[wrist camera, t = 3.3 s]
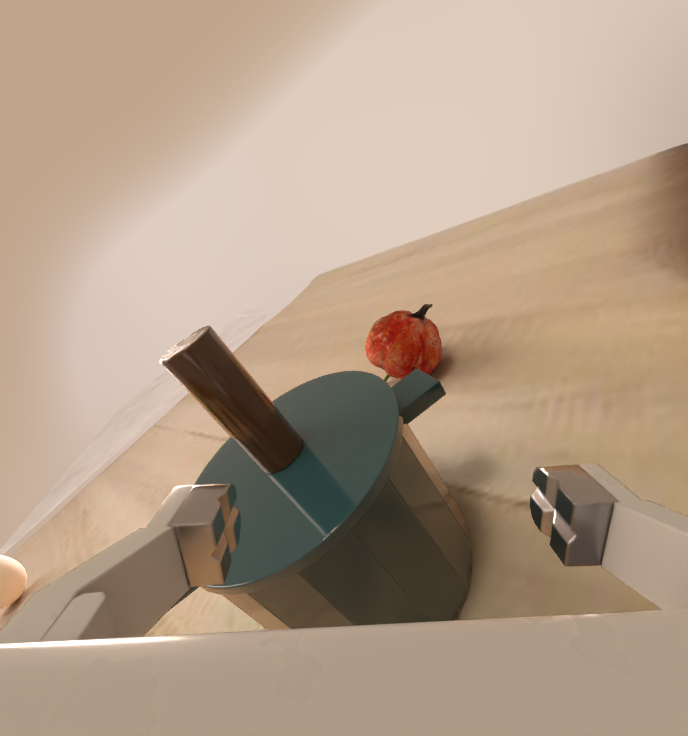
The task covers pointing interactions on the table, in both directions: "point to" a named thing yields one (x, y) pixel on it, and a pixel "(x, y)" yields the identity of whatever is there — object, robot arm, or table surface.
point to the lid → (289, 457)
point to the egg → (11, 580)
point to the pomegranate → (404, 343)
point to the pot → (383, 549)
